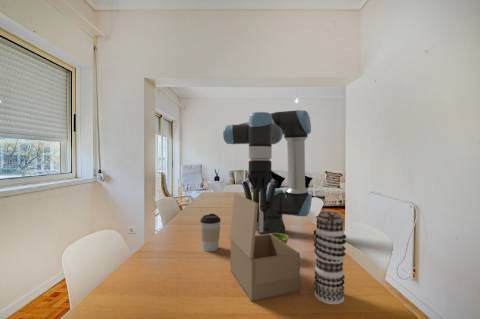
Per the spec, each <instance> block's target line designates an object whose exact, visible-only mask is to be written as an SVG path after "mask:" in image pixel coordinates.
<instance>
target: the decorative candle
mask: <svg viewBox="0 0 480 319" xmlns="http://www.w3.org/2000/svg"><path fill="white" fill-rule="evenodd" d="M315 219H316V226H315V229H314V231H313V235H314V237H313V246H314V257H315V262H316V264H315V269H314V282H313V285H314V287H313V288H314V289H313V290H314V297H315V298H316V299H317V300H318V301H320V302H322V303H324V304H328V305H340V304H342V303H344V301H345V297H344V296H345V286H344V285H345V274H344V267H343V266H344V262H345V259H346V258H345V256H346V252H345V251H346V247H345V246H344V245H345V244H346V243H347V241H346V238H347V235H346V234H345V229H344V221H345V218H343V217H342V216H341V214H340V213H339V212H335V211H330V210H329V211H320V212H319V213H318V215H315Z"/></svg>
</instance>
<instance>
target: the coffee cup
mask: <svg viewBox="0 0 480 319" xmlns="http://www.w3.org/2000/svg"><path fill="white" fill-rule="evenodd" d="M200 232H201V242H202V243H201V244H202V250H203V251H204V252H215V251H218V250H219V243H220V242H219V241H220V232H221V217H219V215H217V214H215V213H209V214H205V215H202V217H201V218H200Z"/></svg>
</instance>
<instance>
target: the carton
mask: <svg viewBox="0 0 480 319" xmlns="http://www.w3.org/2000/svg"><path fill="white" fill-rule="evenodd" d="M300 262H301V253H300V252H299V251H297V250H295V248H293V247H291V246H290V245H289V244H285V243H284V242H282V241H281V240H279V239H278V238H276V237H275V236H273V235H272V234H264V235H262V234H255V243H254V253H253V259H250V258H249V257H248V256H247V255H246V254H245V253H244V252H243V251H242V250H241V249H240V248H239V247H238V246H237V245H236V244H235V242H234V241H233V240H232V239H231V238H230V272H231V274H232V275H233V277H234V279H235V280H236V281H237V283H238V284H239V286H240V287H241V289H242V290H243V292H244V293H245V294H246V296H247V297H248V299H249V300H250V302H257V301H261V300H262V301H263V300H265V299H271V298H276V297H282V296H285V295H290V294H291V295H292V294H296V293H300V290H301V289H300V284H301V283H300V282H301V279H300V276H301V274H300V271H301V263H300Z"/></svg>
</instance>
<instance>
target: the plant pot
mask: <svg viewBox="0 0 480 319" xmlns="http://www.w3.org/2000/svg"><path fill="white" fill-rule="evenodd" d="M270 234H272V235H273V236H275V237H276V238H278V239H279V240H281V241H282V242H284V243H285V244H287V242H288V240H289V238H290V237H289V235H287V234H286V233H285V234H281V233H270ZM287 245H288V244H287Z"/></svg>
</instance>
